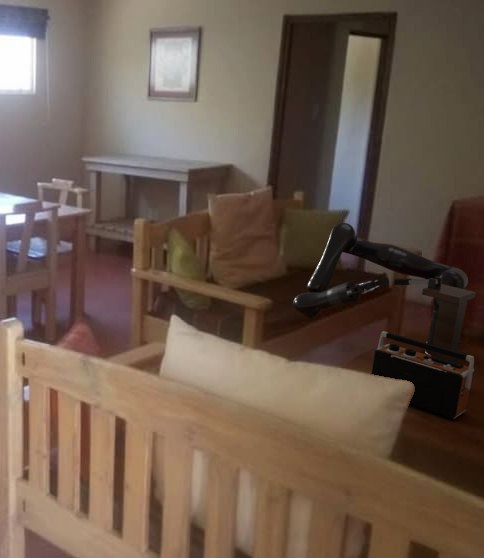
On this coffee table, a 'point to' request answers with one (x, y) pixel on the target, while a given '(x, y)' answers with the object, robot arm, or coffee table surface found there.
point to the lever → (411, 281)
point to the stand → (448, 315)
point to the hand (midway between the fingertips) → (381, 281)
